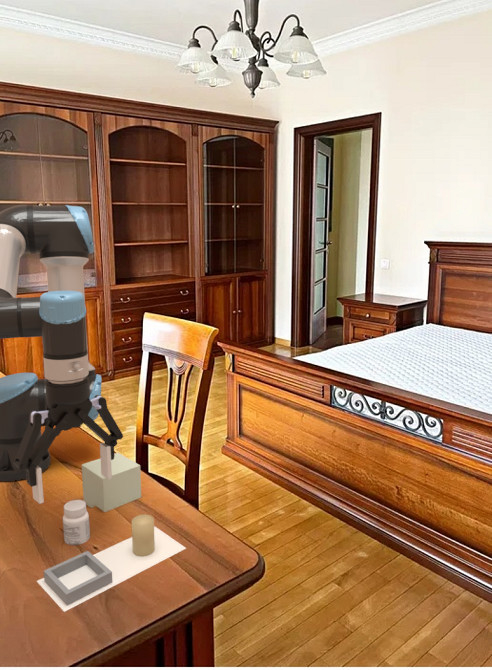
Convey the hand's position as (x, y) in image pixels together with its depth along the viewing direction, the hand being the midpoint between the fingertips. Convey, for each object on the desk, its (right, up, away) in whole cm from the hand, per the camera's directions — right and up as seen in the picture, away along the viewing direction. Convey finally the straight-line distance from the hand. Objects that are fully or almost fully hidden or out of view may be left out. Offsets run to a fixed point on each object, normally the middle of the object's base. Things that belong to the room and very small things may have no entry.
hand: (74, 488), depth 101 cm
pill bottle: (0, -12, +3) cm, 12 cm away
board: (+9, -13, -5) cm, 17 cm away
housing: (+3, -8, +18) cm, 20 cm away
